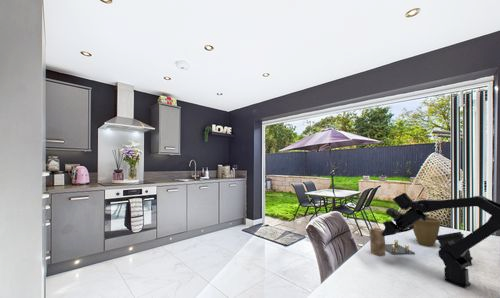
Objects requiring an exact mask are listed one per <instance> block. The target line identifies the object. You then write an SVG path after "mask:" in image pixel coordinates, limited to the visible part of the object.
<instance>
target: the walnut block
mask: <svg viewBox="0 0 500 298" xmlns="http://www.w3.org/2000/svg"><path fill="white" fill-rule="evenodd" d="M383 231H384V229H383V228H382V229H381V228H377V227H373V228H370V229H369V237H370V238H369V239H370V254H373V255H375V256H377V257H382V256H385V255H386V251H385V244H386V240H385V237H386V236H382V233H383Z"/></svg>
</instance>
